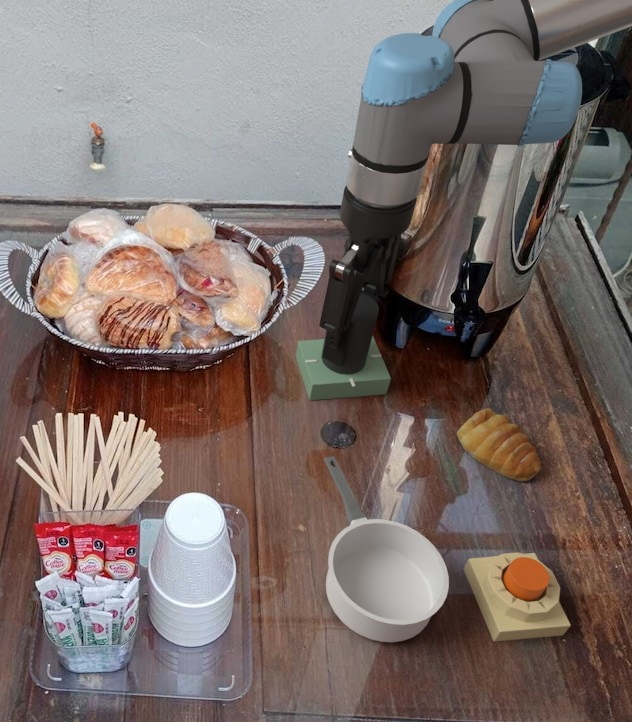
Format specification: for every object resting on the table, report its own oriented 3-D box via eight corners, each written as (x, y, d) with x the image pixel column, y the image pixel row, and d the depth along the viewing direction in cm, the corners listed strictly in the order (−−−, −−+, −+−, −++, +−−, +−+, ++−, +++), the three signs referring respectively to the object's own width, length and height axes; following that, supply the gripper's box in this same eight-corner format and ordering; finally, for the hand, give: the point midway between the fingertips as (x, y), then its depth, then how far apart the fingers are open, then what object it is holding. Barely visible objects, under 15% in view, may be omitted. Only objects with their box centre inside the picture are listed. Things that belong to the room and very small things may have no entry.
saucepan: (368, 475, 90) (377, 446, 86) (456, 635, 76) (472, 608, 72) (275, 496, 89) (280, 467, 85) (348, 662, 75) (358, 637, 71)
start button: (532, 565, 77) (539, 555, 76) (548, 599, 75) (556, 588, 73) (497, 569, 77) (503, 558, 76) (512, 602, 75) (519, 592, 73)
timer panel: (366, 346, 105) (370, 329, 103) (388, 399, 98) (393, 382, 96) (294, 351, 105) (296, 335, 103) (311, 405, 98) (314, 389, 96)
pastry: (550, 467, 90) (562, 447, 87) (511, 495, 88) (522, 475, 85) (485, 416, 96) (494, 396, 93) (447, 441, 93) (455, 421, 91)
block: (528, 563, 82) (540, 543, 79) (563, 635, 76) (578, 617, 73) (463, 568, 81) (473, 549, 79) (493, 641, 76) (505, 623, 73)
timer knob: (358, 342, 101) (371, 287, 95) (371, 372, 97) (385, 318, 91) (316, 345, 101) (326, 291, 95) (327, 376, 97) (338, 322, 91)
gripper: (391, 142, 88) (356, 296, 104) (302, 218, 78) (280, 374, 95) (453, 163, 84) (408, 319, 101) (369, 245, 75) (334, 403, 91)
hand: (346, 346), depth 98 cm, fingers closed on timer knob, 6 cm apart
